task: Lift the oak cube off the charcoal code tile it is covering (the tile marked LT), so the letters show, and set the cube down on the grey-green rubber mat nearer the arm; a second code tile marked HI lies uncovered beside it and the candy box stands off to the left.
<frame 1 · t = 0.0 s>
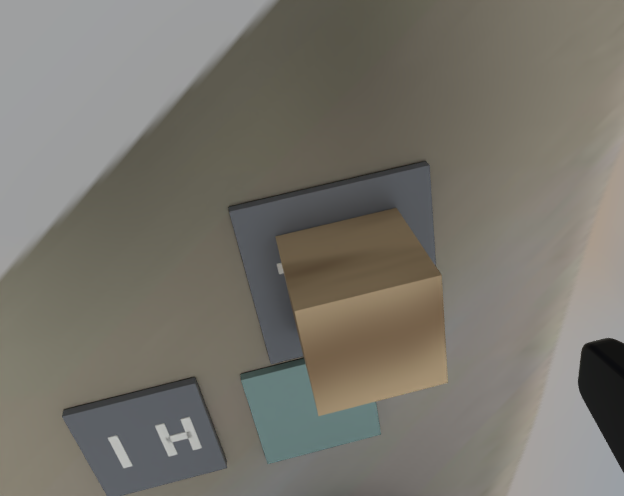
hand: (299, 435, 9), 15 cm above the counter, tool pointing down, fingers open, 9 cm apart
rubber mat: (313, 403, 29), on the counter
code tile HI: (150, 437, 28), on the counter
oak block: (344, 272, 25), resting on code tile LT
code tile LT: (342, 267, 25), on the counter
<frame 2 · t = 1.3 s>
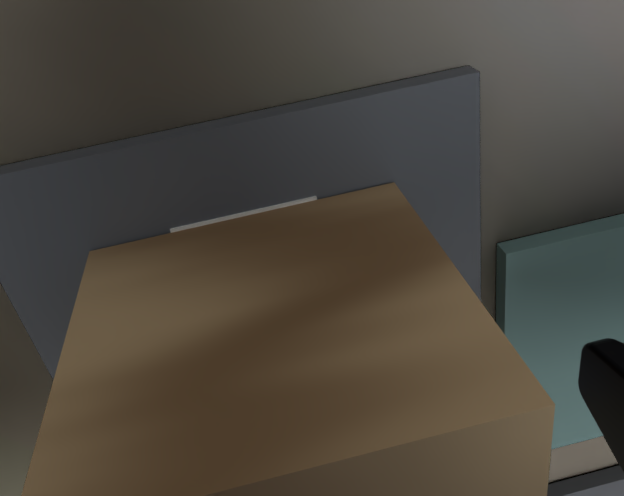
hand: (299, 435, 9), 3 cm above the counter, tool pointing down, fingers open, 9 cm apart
oak block: (274, 333, 11), resting on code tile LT
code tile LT: (271, 319, 11), on the counter
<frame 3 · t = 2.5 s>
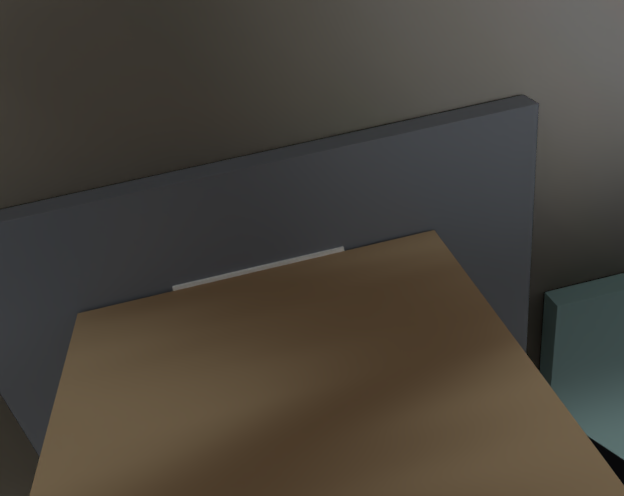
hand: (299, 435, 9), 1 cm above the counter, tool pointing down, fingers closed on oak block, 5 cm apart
oak block: (291, 398, 9), resting on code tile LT, touching gripper
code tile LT: (287, 378, 10), on the counter
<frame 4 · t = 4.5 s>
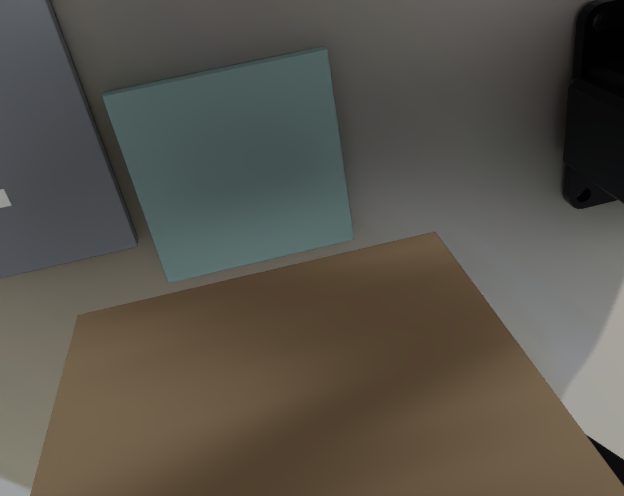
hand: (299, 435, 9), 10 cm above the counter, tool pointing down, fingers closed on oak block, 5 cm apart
rubber mat: (240, 170, 17), on the counter
oak block: (292, 399, 9), point 9 cm above the counter, touching gripper
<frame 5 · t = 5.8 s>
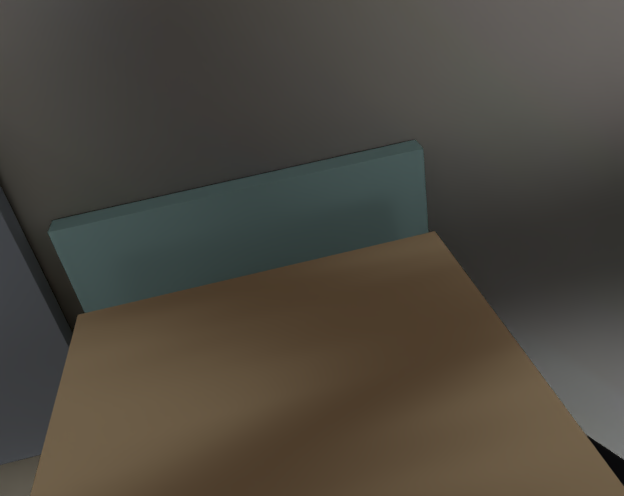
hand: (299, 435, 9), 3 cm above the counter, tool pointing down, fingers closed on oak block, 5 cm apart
rubber mat: (273, 321, 11), on the counter
oak block: (292, 399, 9), point 2 cm above the counter, touching gripper
when the fingers open (3 cm above the counter, at t = 6.5 s): oak block drops 2 cm, resting on rubber mat.
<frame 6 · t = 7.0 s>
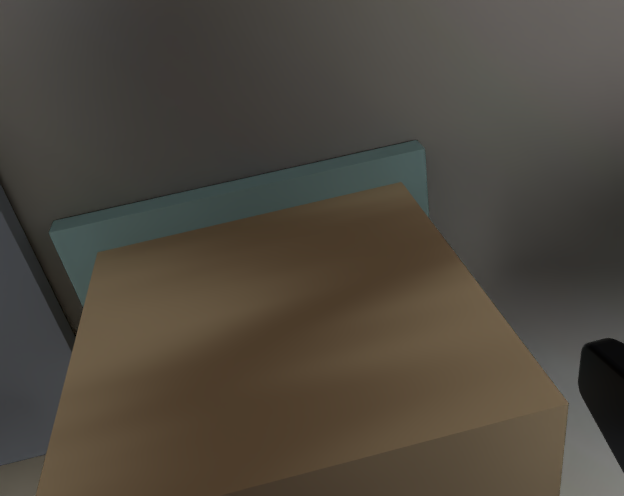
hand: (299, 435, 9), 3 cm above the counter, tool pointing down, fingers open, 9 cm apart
rubber mat: (274, 321, 11), on the counter
oak block: (281, 333, 11), resting on rubber mat
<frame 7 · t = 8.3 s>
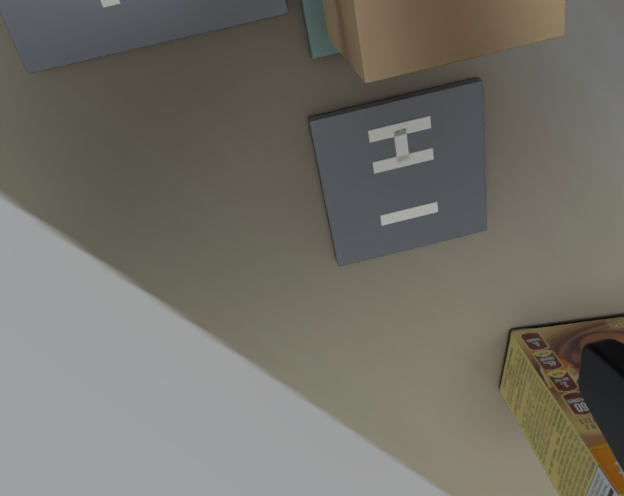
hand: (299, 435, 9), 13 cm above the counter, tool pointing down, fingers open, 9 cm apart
candy box: (586, 347, 28), on the counter
code tile HI: (402, 175, 22), on the counter
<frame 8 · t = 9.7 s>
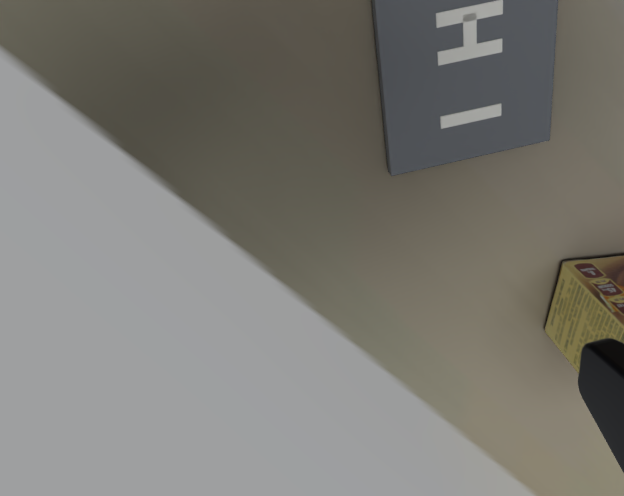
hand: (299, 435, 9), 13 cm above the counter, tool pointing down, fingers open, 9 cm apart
code tile HI: (465, 72, 20), on the counter
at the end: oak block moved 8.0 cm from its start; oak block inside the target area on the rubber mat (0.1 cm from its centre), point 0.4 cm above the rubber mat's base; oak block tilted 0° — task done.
